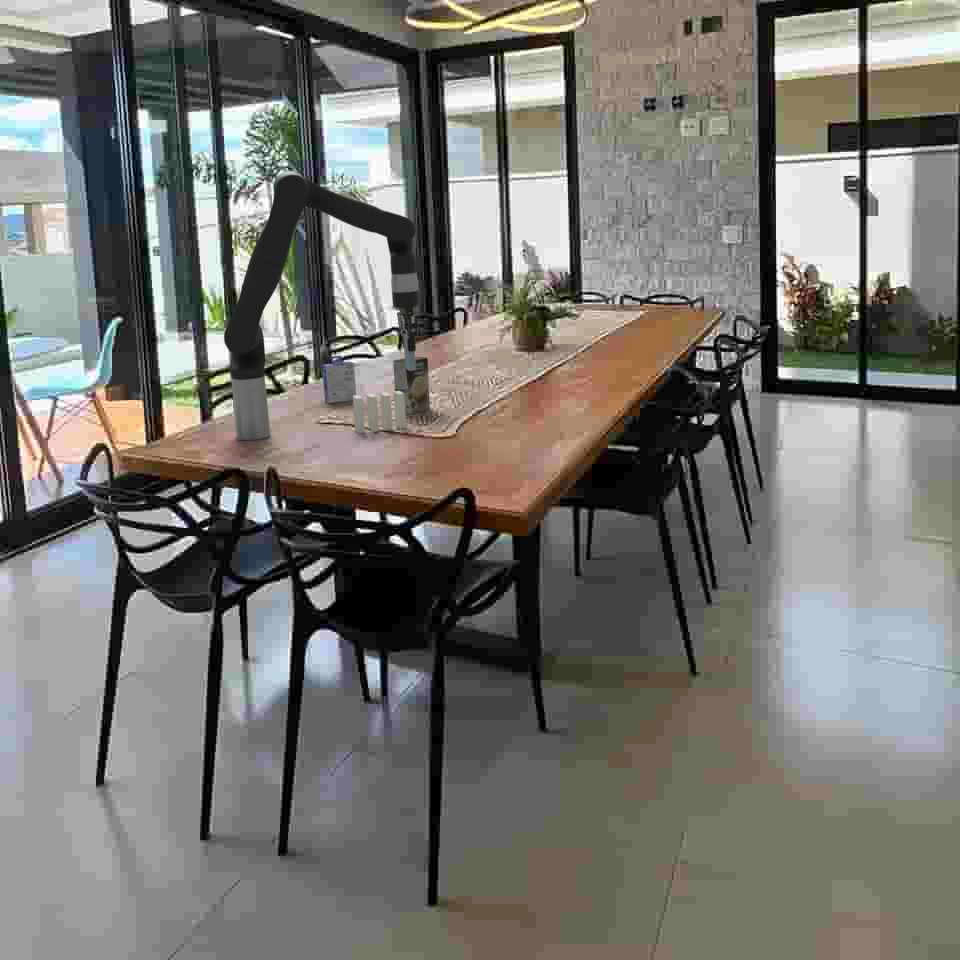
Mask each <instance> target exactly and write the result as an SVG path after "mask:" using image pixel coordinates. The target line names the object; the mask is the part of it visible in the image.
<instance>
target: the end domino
mask: <svg viewBox="0 0 960 960" xmlns="http://www.w3.org/2000/svg"><path fill="white" fill-rule="evenodd" d="M403 338H404V353H403V354H404V358H405V366H406V369H407V370H409V371H415V370H416V360H415V357H416V351H412V352H409V351H408V346H407V337H406V334H403Z"/></svg>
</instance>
